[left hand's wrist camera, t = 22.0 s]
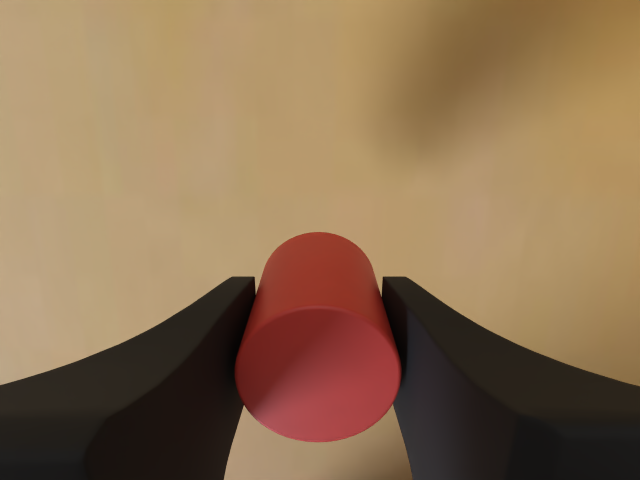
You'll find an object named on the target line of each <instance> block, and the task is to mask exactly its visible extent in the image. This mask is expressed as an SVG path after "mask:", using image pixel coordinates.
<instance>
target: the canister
mask: <svg viewBox="0 0 640 480" xmlns="http://www.w3.org/2000/svg"><path fill="white" fill-rule="evenodd" d="M401 376H402V368H401V360H400V357H399V354H398V350H397V347H396V344H395V340H394V337H393V334H392V330H391V327H390V324H389V321H388V317H387V314H386V311H385V307H384V304H383V301H382V298H381V294H380V291H379V288H378V284H377V281H376V278H375V274H374V271H373V268H372V265H371V263H370V261H369V259H368V258H367V256H366V255H365V253H364V252H363V251H362V250H361V249H360V248H359V247H358V246H357V245H355V244H354V243H353V242H351V241H349V240H348V239H346V238H344V237H341V236H338V235H335V234H331V233H324V232H312V233H306V234H302V235H299V236H296V237H293V238H291V239H289V240H288V241H286V242H284V243H283V244H282V245H280V246H279V247H278V248H277V249H276V250H275V251H274V252H273V253H272V255H271V256H270V258H269V259H268V261H267V263H266V265H265V268H264V271H263V274H262V277H261V281H260V284H259V287H258V290H257V293H256V296H255V300H254V303H253V306H252V309H251V312H250V315H249V319H248V322H247V325H246V328H245V331H244V335H243V338H242V341H241V344H240V347H239V350H238V354H237V357H236V362H235V382H236V387H237V390H238V393H239V396H240V398H241V400H242V402H243V404H244V405H245V407H246V408H247V410H248V411H249V412H250V413H251V415H252V416H253V417H254V418H255V419H256V420H258V421H259V422H260V423H261V424H262V425H264V426H265V427H267V428H268V429H270V430H272V431H274V432H276V433H278V434H280V435H283V436H285V437H288V438H292V439H295V440H300V441H307V442H329V441H336V440H341V439H345V438H348V437H351V436H354V435H356V434H358V433H361V432H363V431H365V430H366V429H368V428H369V427H371V426H373V425H374V424H375V423H376V422H378V421H379V420H380V419H381V418H382V417H383V416H384V415H385V414H386V413H387V411H388V410H389V409H390V407H391V406H392V404H393V402H394V400H395V399H396V396H397V393H398V391H399V388H400V383H401Z"/></svg>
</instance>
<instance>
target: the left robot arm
mask: <svg viewBox="0 0 640 480" xmlns="http://www.w3.org/2000/svg"><path fill="white" fill-rule="evenodd" d="M255 296H256V292H255V277H231V278H229V279H227V280H226V281H224V282H223V283H221V284H220V285H218V286H217V287H215V288H214V289H213V290H211V291H210V292H208V293H207V294H206V295H204V296H203V297H201V298H200V299H198V300H197V301H195V302H194V303H193V304H191V305H190V306H188V307H186V308H185V309H183V310H181V311H180V312H178V313H177V314H175V315H173V316H172V317H170V318H169V319H167V320H165V321H164V322H162V323H160V324H158V325H157V326H155V327H153V328H151V329H149V330H147V331H146V332H144V333H142V334H140V335H137V336H135V337H133V338H131V339H129V340H127V341H125V342H123V343H121V344H119V345H116V346H114V347H111V348H109V349H106V350H104V351H101V352H99V353H96V354H94V355H91V356H89V357H87V358H84V359H82V360H79V361H76V362H74V363H71V364H68V365H65V366H62V367H59V368H56V369H53V370H50V371H47V372H44V373H41V374H37V375H34V376H31V377H28V378H24V379H21V380H18V381H14V382H10V383H7V384H3V385H0V480H224V475H225V470H226V465H227V461H228V457H229V453H230V449H231V445H232V442H233V439H234V436H235V432H236V429H237V426H238V422H239V419H240V416H241V413H242V409H243V406H244V404H243V402H242V400H241V398H240V396H239V393H238V390H237V387H236V382H235V362H236V357H237V354H238V350H239V347H240V344H241V341H242V338H243V335H244V331H245V328H246V325H247V322H248V319H249V315H250V312H251V309H252V306H253V303H254V300H255ZM382 301H383V304H384V307H385V311H386V314H387V317H388V321H389V324H390V327H391V330H392V334H393V337H394V340H395V344H396V347H397V350H398V354H399V357H400V360H401V368H402V376H401V383H400V388H399V391H398V393H397V396H396V399H395V400H394V402H393V406H394V409H395V412H396V416H397V419H398V422H399V426H400V429H401V432H402V436H403V439H404V443H405V446H406V450H407V454H408V458H409V462H410V466H411V472H412V477H413V480H640V386H636V385H632V384H628V383H624V382H621V381H618V380H614V379H611V378H608V377H605V376H601V375H598V374H595V373H592V372H588V371H585V370H582V369H579V368H576V367H573V366H571V365H568V364H565V363H562V362H559V361H557V360H554V359H552V358H549V357H547V356H544V355H541V354H539V353H536V352H534V351H531V350H529V349H527V348H524V347H522V346H520V345H518V344H515V343H513V342H511V341H509V340H507V339H505V338H503V337H501V336H499V335H497V334H495V333H493V332H491V331H489V330H487V329H485V328H483V327H482V326H480V325H478V324H476V323H475V322H473V321H471V320H470V319H468V318H466V317H465V316H463V315H461V314H460V313H458V312H457V311H455V310H454V309H452V308H450V307H449V306H447V305H446V304H444V303H443V302H442V301H440V300H439V299H437V298H436V297H434V296H433V295H432V294H430V293H429V292H427V291H426V290H425V289H423V288H422V287H420V286H419V285H418V284H416V283H415V282H413V281H412V280H410V279H409V278H407V277H383V283H382Z"/></svg>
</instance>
